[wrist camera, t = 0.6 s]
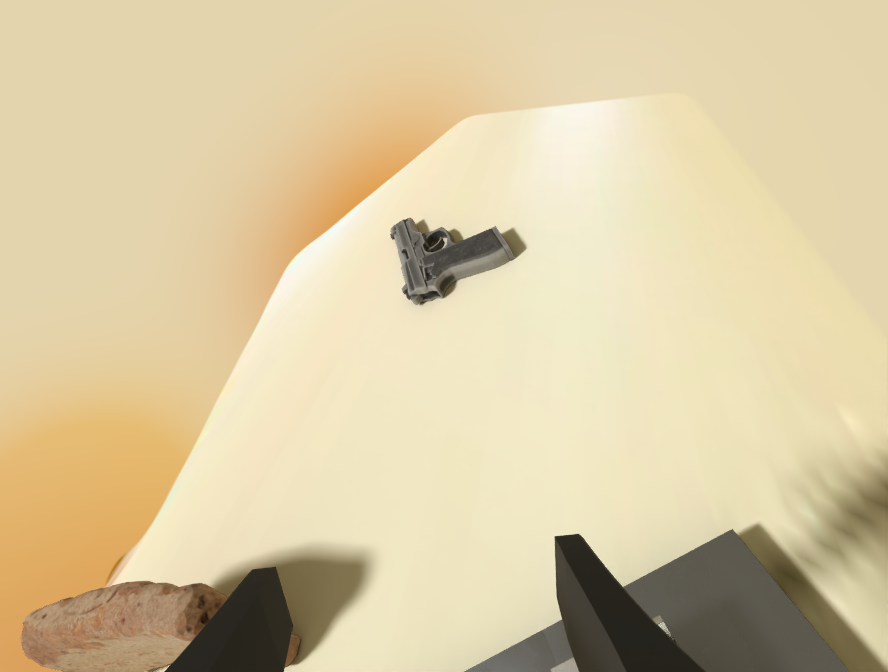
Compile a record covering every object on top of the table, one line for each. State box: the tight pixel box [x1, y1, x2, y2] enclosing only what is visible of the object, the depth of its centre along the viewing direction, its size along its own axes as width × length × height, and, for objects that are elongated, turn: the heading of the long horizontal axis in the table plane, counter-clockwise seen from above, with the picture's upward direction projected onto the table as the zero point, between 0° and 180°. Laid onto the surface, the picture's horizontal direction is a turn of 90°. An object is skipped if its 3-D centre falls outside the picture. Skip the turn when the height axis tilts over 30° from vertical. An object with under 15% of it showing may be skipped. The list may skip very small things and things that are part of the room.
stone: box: [21, 581, 301, 672], centre depth 32 cm, size 19×10×4 cm
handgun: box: [390, 218, 515, 305], centre depth 52 cm, size 2×17×12 cm
